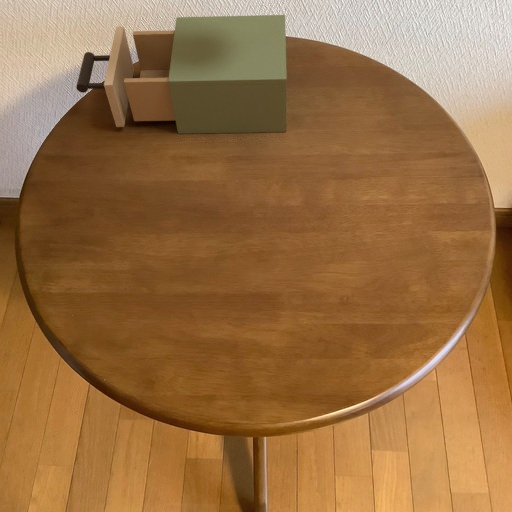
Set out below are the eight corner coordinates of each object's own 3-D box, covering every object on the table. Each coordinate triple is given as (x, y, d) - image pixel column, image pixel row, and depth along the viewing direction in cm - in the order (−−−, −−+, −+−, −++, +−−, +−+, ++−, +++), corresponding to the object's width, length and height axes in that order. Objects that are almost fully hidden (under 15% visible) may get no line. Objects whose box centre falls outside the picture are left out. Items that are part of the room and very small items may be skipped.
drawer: (82, 127, 93) (67, 85, 86) (95, 70, 100) (82, 27, 93) (215, 125, 92) (210, 82, 85) (219, 67, 99) (215, 24, 92)
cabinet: (178, 133, 93) (168, 81, 84) (184, 70, 100) (176, 17, 92) (286, 132, 92) (286, 78, 84) (284, 68, 100) (285, 14, 92)
